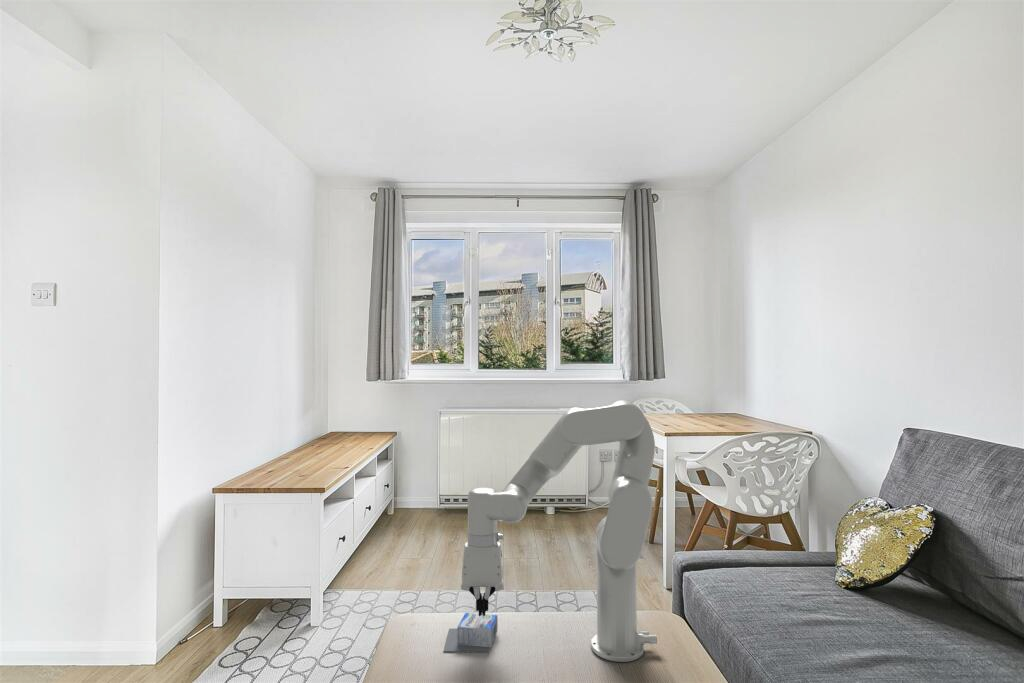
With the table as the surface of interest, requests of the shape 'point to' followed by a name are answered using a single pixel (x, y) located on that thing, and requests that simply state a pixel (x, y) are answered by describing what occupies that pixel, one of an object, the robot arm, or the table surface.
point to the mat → (453, 645)
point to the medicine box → (477, 630)
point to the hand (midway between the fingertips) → (482, 613)
